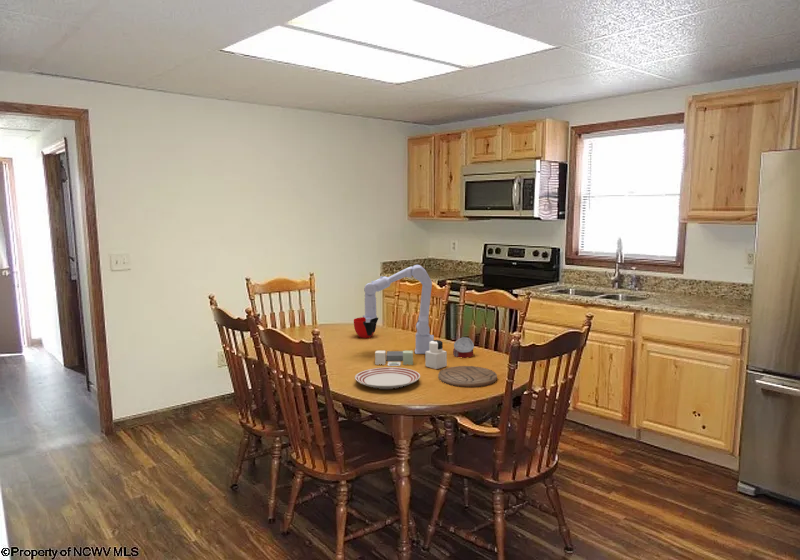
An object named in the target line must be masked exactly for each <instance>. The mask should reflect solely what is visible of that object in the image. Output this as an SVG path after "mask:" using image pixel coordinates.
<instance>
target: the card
mask: <svg viewBox="0 0 800 560" xmlns="http://www.w3.org/2000/svg"><path fill="white" fill-rule="evenodd" d="M401 364H402V361H387V367H401Z"/></svg>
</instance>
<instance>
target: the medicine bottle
mask: <svg viewBox="0 0 800 560" xmlns="http://www.w3.org/2000/svg"><path fill="white" fill-rule="evenodd" d="M443 347H444V345H443V341H442V340H439V339H434V340H432V341H430V342H429V351H426V352H425V354H424V355H425V356H424V357H425V360H424V361H425V367H426V368H431V369H434V370H438V369H442V368H445V367H446V368H447V366H448V364H447V363H448V362H447V355H448V353H447V351H446V350H444V348H443Z"/></svg>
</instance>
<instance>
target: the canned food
mask: <svg viewBox="0 0 800 560" xmlns="http://www.w3.org/2000/svg"><path fill="white" fill-rule="evenodd" d="M474 348H475V345H474V342H473V340H472V339H471V338H470V337H468V336H462V337H460V338H458V339H456V340H455V342H454V343H453V351H452V355H454V356H453V357H456V358H458V357H462V358H461V359H467V358H466V357H470V358H472V357H471V356H473V357H474Z"/></svg>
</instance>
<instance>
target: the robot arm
mask: <svg viewBox="0 0 800 560" xmlns="http://www.w3.org/2000/svg"><path fill="white" fill-rule="evenodd" d="M412 277H413V278H414V279H415V280H417V281H419V282H420V283H421V285H422V287H421V295H420V296H421V297H420V304H419V313H418V319H417V322H416V324H415V329H416V332H415V349H414V354H417V355H425V352H426V351H429V342H430V341H432V340H435V339H434V334H430V331H431V329H430V326H429V321H430V320H429V317H430V316H429V315H430V305H431V295H432V287H433V281H432V279H431V277H430V275H429V273H428V272H427V270H426V268H424V267H423V266H422V265H420V264H414V265H411V266H409V267H406V268H403V269H402V270H399V271H398V272H395V273H394V274H392V275H390V276H383V275H382V276H379V278H378V279H375V280H371V281H370V282H368V283H366V284H365V285H364V315H362V317H365V319H366V321H364V322H363V324H364V326H365V328H366V332H367V336H371V337H372V336H373V335H372V332H374V333H375V332H376V329H377V323H378V320H379V317H378V315H377V297H376V293H379V292H380V291H383V290H385V289H388V288H390V286H391V284H392V283H394V282H396V281H398V280H399V281H400V280H401V279H404V278H412Z"/></svg>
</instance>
